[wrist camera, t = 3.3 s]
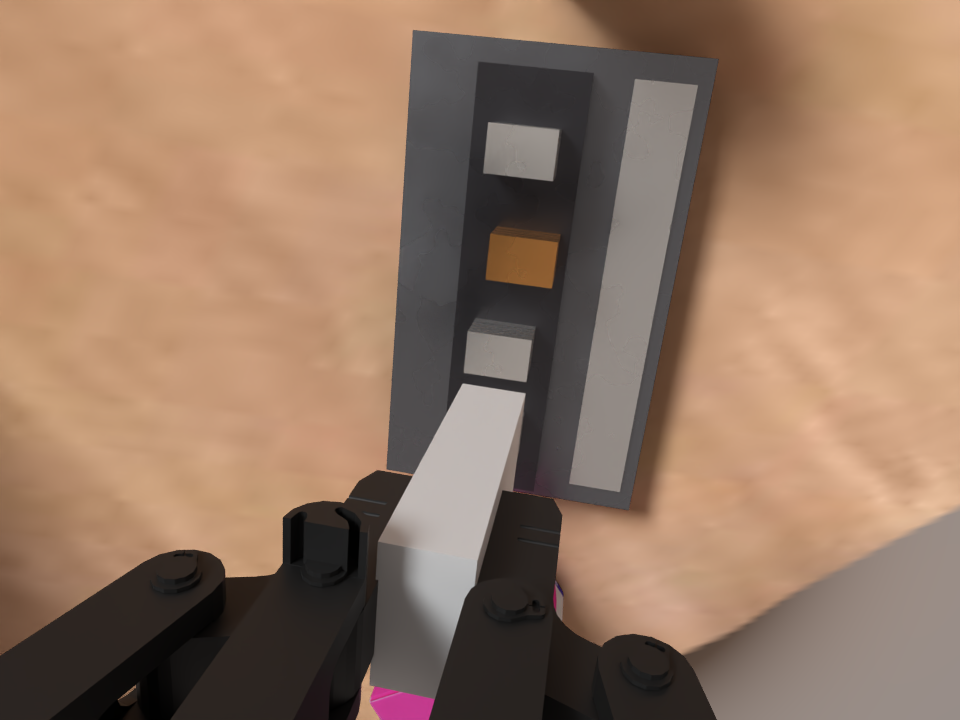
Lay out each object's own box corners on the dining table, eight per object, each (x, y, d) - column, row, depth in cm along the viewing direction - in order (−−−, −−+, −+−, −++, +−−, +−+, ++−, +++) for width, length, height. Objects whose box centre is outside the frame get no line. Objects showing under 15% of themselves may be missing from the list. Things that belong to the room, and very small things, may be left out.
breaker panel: (626, 489, 35) (632, 552, 30) (397, 451, 37) (364, 505, 32) (710, 62, 28) (735, 51, 23) (424, 35, 30) (388, 18, 25)
